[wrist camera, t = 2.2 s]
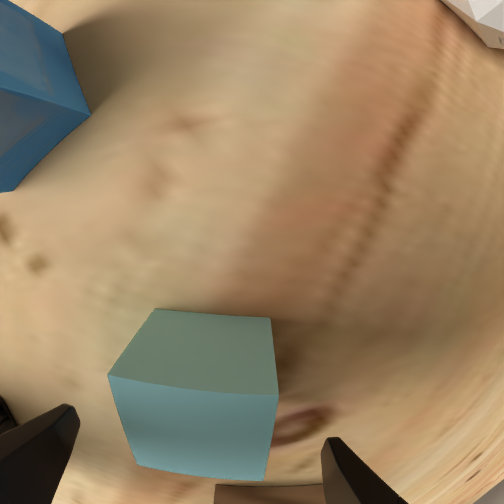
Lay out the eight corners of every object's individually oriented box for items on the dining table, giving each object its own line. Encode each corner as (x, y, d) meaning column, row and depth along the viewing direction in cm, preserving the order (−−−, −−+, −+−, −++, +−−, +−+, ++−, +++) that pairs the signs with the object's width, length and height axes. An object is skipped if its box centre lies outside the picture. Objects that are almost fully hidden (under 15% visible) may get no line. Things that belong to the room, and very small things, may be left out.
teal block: (164, 392, 13) (137, 464, 8) (155, 307, 12) (107, 374, 7) (261, 401, 13) (263, 480, 8) (270, 316, 12) (279, 395, 7)
